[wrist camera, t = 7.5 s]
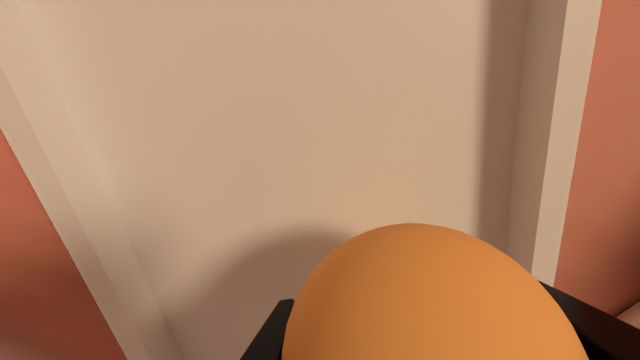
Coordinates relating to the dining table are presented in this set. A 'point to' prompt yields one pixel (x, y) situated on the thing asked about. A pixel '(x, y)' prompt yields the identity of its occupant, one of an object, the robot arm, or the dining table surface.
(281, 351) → the robot arm
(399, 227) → the ball
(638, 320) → the bowl
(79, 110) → the tray
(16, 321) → the dining table surface
